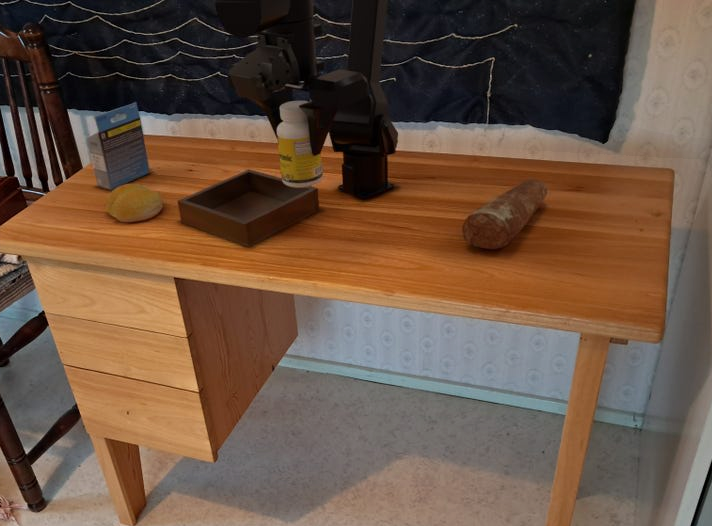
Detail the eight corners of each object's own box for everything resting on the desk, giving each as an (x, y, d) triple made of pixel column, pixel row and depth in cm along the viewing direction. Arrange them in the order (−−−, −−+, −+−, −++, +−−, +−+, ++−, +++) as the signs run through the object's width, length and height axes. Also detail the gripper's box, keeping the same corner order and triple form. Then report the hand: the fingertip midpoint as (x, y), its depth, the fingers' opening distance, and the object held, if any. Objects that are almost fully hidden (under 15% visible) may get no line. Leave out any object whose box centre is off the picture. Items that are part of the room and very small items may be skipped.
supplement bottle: (277, 177, 98) (269, 102, 93) (316, 170, 99) (310, 96, 94) (287, 191, 94) (280, 114, 88) (328, 184, 95) (323, 107, 89)
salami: (458, 251, 95) (459, 210, 92) (517, 198, 108) (521, 161, 104) (504, 261, 92) (507, 220, 89) (560, 205, 104) (565, 167, 101)
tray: (251, 190, 118) (248, 169, 116) (319, 210, 110) (317, 188, 108) (181, 222, 110) (177, 200, 108) (248, 247, 101) (245, 223, 99)
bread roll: (128, 229, 110) (122, 203, 107) (100, 213, 115) (94, 188, 113) (175, 211, 114) (170, 186, 111) (145, 196, 120) (140, 172, 117)
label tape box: (137, 169, 130) (121, 98, 123) (152, 173, 128) (137, 101, 121) (97, 186, 125) (78, 113, 118) (112, 191, 123) (94, 116, 116)
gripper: (184, 26, 87) (205, 156, 96) (298, 41, 75) (309, 186, 84) (253, 8, 93) (267, 131, 102) (368, 19, 82) (371, 156, 91)
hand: (300, 150), depth 94 cm, fingers closed on supplement bottle, 5 cm apart
